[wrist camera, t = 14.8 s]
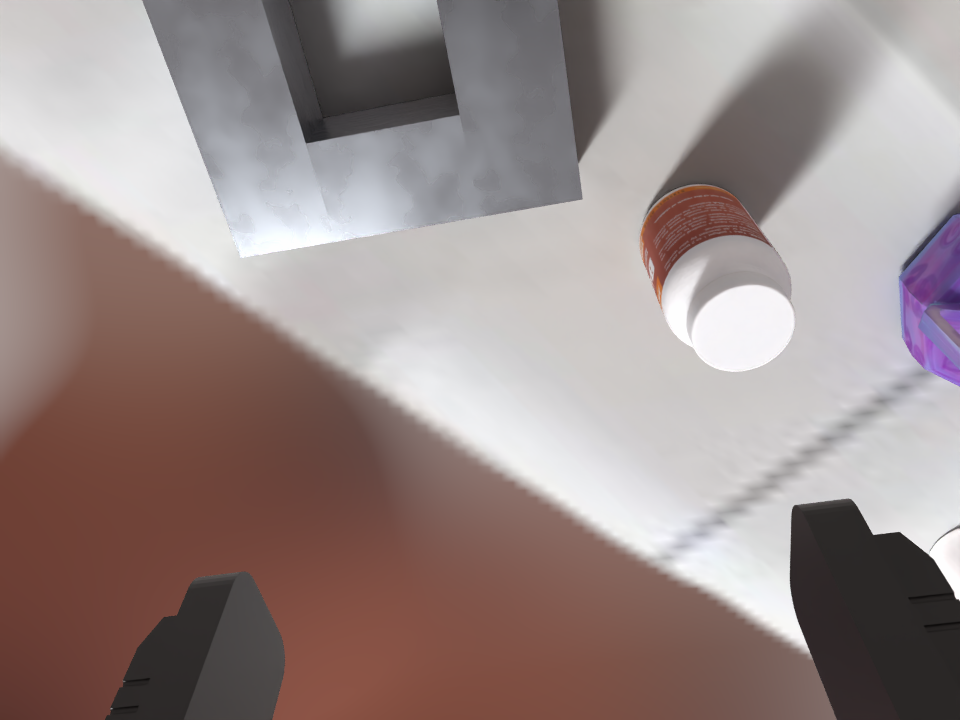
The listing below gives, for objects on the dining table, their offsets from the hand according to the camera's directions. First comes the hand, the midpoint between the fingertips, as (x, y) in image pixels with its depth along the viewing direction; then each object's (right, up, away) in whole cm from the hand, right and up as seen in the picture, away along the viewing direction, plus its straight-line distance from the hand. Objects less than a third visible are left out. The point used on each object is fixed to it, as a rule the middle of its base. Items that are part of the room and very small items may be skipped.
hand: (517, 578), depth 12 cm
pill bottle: (+12, +11, +34) cm, 37 cm away
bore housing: (-6, +20, +28) cm, 35 cm away
